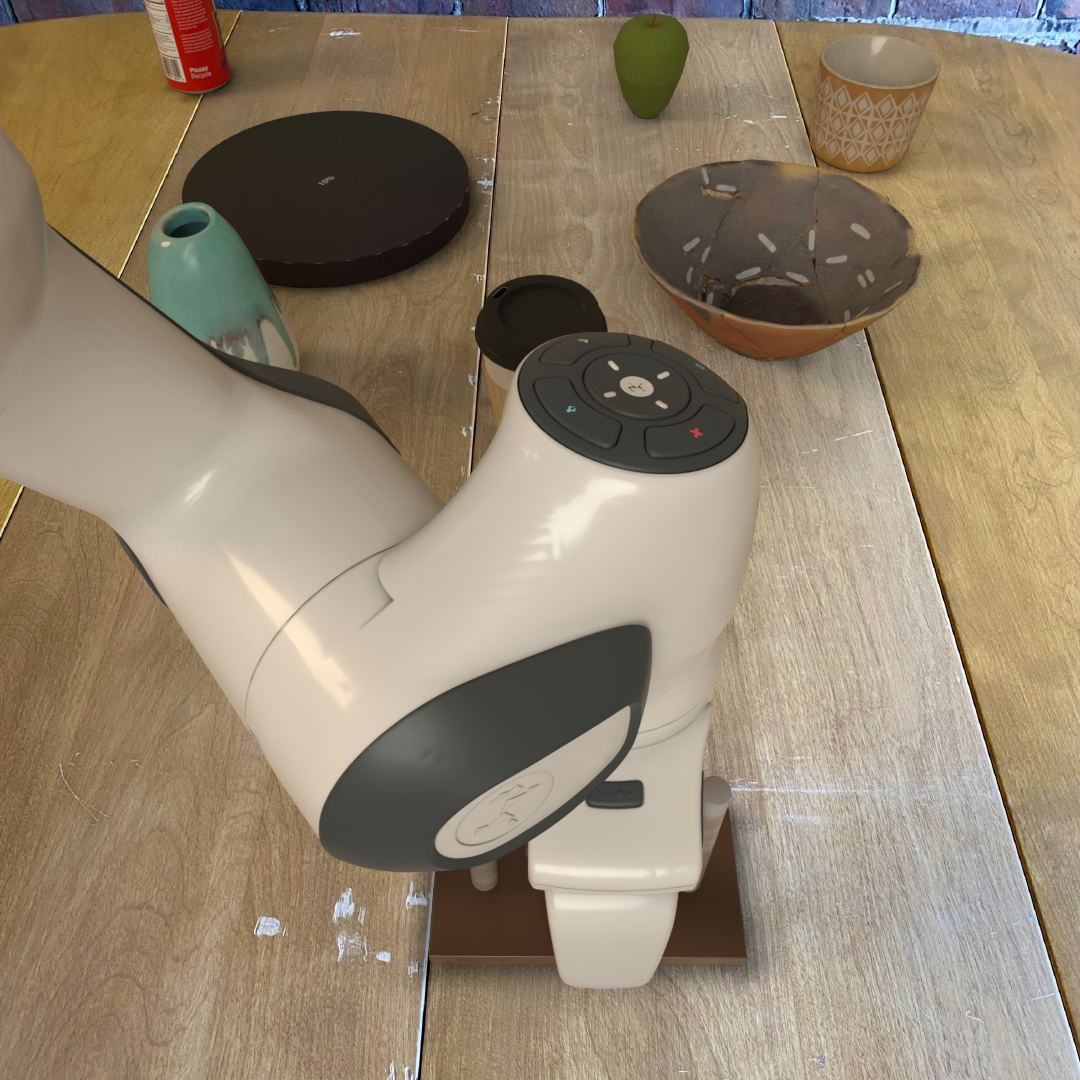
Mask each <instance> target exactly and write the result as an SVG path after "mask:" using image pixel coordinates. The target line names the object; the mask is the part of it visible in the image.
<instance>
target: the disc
mask: <svg viewBox="0 0 1080 1080" xmlns="http://www.w3.org/2000/svg"><path fill="white" fill-rule="evenodd" d="M470 187H471V186H470V172H469V168H468V164H467V160H466V158H465V157H464V155H463V154H462V153H461V151H460V150H459V147H458V146H456V144H454V143H453V142H452V141H451V140H449V139H448V138H447V137H446V136H445V135H444V134H441V133H440V132H438V131H436V130H435V129H433V128H431V127H430V126H428V125H425V124H422V123H420V122H417V121H414V120H412V119H408V118H405V117H401V116H397V115H392V114H387V113H383V112H382V113H381V112H373V111H365V110H324V111H312V112H304V113H299V114H293V115H288V116H282V117H279V118H276V119H275V118H274V119H272V120H268V121H265V122H261V123H258V124H256V125H253V126H250V127H248V128H245V129H243V130H241V131H239V132H236V133H234V134H232V135H230V136H229V137H226V138H225V139H224V140H222V141H220V142H218V143H216V144H215V145H214V146H212V148H210V149H209V150H208V151H206V152H205V153H204V154H203V155H201V156H200V157H199V159H198V160H197V161H196V162H195V164H194V165H193V166H192V167H191V168H190V169H189V171H188V173H187V175H186V177H185V179H184V182H183V184H182V189H181V199H180V201H181V204H185V203H192V202H199V203H204V204H207V205H209V206H211V207H212V208H213V209H214V210H215V211H217V212H218V213H219V214H220V215H221V216H223V217H224V218H225V219H226V220H227V221H228V222H229V223H230V224H231V225H232V226H233V228H234V229H235V230H236V231H237V233H238V234H239V236H240V237H241V239H242V240H243V242H244V243H245V245H246V247H247V248H248V250H249V252H250V254H251V256H252V258H253V259H254V261H255V263H256V265H257V267H258V269H259V270H260V272H261V274H262V275H263V277H264V279H265V280H266V282H267V283H268V284H275V285H282V286H290V287H311V288H312V287H314V288H315V287H317V288H318V287H319V288H320V287H322V288H324V287H325V288H326V287H334V286H344V285H353V284H357V283H363V282H368V281H371V280H377V279H381V278H385V277H387V276H389V275H393V274H395V273H398V272H401V271H403V270H407V269H409V268H411V267H413V266H415V265H417V264H419V263H421V262H423V261H425V260H427V259H429V258H431V257H432V256H433V255H434V254H436V253H437V252H438V251H439V250H441V249H443V248H444V247H445V246H446V245H448V244H449V243H450V242H451V240H452V239H454V238H455V236H456V235H457V234H458V233H459V231H461V229H462V228H463V225H464V223H465V222H466V219H467V218H468V215H469V210H470V203H471V188H470Z"/></svg>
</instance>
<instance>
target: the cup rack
mask: <svg viewBox="0 0 1080 1080" xmlns="http://www.w3.org/2000/svg"><path fill="white" fill-rule="evenodd" d="M731 798H732V788H731V785H730V784H729V782H728V781H727V780H726V779H724V778H722V777H721V776H716V775H711V776H707V777H705V778H704V783H703V847H702V871H701V875H700V879H699V881H698V884H697V886H696V887H695V888H694V889H693V890H688V891H680V892H678V900H677V908H676V914H675V919H674V924H673V927H672V931H671V934H670V937H669V940H668V942H667V945H666V948H665V950H664V953H663V955H662V958H661V960H660V962H659V965H658V967H744V965H745V963H746V962H747V960H748V952H747V944H746V935H745V927H744V920H743V912H742V903H741V897H740V896H741V894H740V887H739V881H738V880H739V878H738V870H737V863H736V855H735V847H734V838H733V830H732V822H731V821H732V820H731V814H730V813H731V812H730V809H729V808H728V806H729V804H730V801H731ZM433 881H434V882H433V893H432V894H433V895H432V906H431V907H432V909H431V919H430V920H431V922H430V933H429V934H430V935H429V947H428V949H429V950H428V957H429V962H430V964H431V965H461V966H462V965H466V966H467V965H469V966H470V965H471V966H472V965H473V966H477V965H478V966H479V965H481V966H482V965H484V966H485V965H487V966H489V965H490V966H557V964H556V959H555V954H554V949H553V944H552V938H551V933H550V927H549V921H548V914H547V907H546V899H545V891H544V890H539V889H534V888H533V887H532V886H531V884H530V882H529V879H528V857H527V856H526V844H524V845H523V846H521V847H519V848H518V849H516V850H514V851H512V852H511V853H509V854H507V855H505V856H503V857H501V858H499V859H497V860H494V861H492V862H489V863H486V864H483V865H480V866H477V867H472V868H467V869H458V870H446V871H434V879H433Z"/></svg>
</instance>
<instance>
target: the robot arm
mask: <svg viewBox="0 0 1080 1080" xmlns="http://www.w3.org/2000/svg"><path fill="white" fill-rule="evenodd" d="M45 214H46V213H45V208H44V203H43V200H42V195H41V189H40V187H39V183H38V181H37V177H36V175H35V172H34V169H33V167H32V165H31V163H30V161H29V160H28V159H27V157H26V155H25V154H24V153H23V152H22V150H21V149H20V147H19V146H18V145H17V144H16V142H15V141H14V139H13V138H12V136H10V135H9V133H8V132H7V130H6V129H5V127H4V126H3V125H2V124H1V123H0V478H3V479H5V480H7V481H10V482H13V483H15V484H17V485H20V486H23V487H25V488H27V489H30V490H31V491H34V492H37V493H40V494H42V495H45V496H47V497H50V498H52V499H54V500H56V501H59V502H62V503H64V504H66V505H69V506H71V507H73V508H77V509H79V510H81V511H84V512H86V513H88V514H91V515H93V516H95V517H96V518H98V519H100V520H101V521H103V522H104V523H105V524H107V525H108V526H109V527H110V528H111V529H112V531H113V533H114V535H115V537H116V539H117V541H118V542H119V544H120V545H121V547H122V550H123V551H124V552H125V555H127V557H128V559H129V560H130V561H131V562H132V564H133V565H134V567H135V568H136V570H137V571H138V572H139V574H140V575H141V577H142V578H143V579H144V581H145V582H146V583H147V585H148V586H149V588H150V589H151V590H152V592H153V593H154V594H155V595H156V597H157V598H158V599H159V601H160V602H161V603H162V604H163V605H164V606H165V607H166V608H167V609H168V610H169V611H170V612H171V614H172V616H173V617H174V618H175V620H176V622H177V623H178V625H179V626H180V628H181V629H182V631H183V632H184V633H185V635H186V637H187V638H188V640H189V642H190V643H191V644H192V646H193V648H194V650H195V651H196V652H197V654H198V655H199V657H200V658H201V660H202V661H203V664H205V666H206V668H207V669H208V671H209V672H210V674H211V676H212V677H213V679H214V680H215V681H216V683H217V685H218V686H219V688H220V689H221V691H222V693H223V694H224V695H225V697H226V699H227V701H229V703H230V705H231V706H232V708H233V710H234V711H235V712H236V713H237V715H238V717H239V718H240V720H241V722H242V723H243V725H244V726H245V729H247V731H248V732H249V734H250V737H251V739H252V740H253V742H254V744H256V745H255V746H257V749H259V751H260V753H261V754H262V756H263V757H264V759H265V761H266V762H267V764H268V766H269V767H270V769H271V770H272V772H273V773H274V775H275V776H276V778H277V779H278V782H280V784H281V786H282V787H283V788H284V790H285V791H286V793H287V794H288V796H289V797H290V799H291V800H292V801H293V803H294V804H295V806H296V808H297V809H298V811H300V813H301V815H302V816H303V818H304V819H305V821H306V822H307V824H308V825H309V826H310V829H312V830H313V832H314V833H315V835H316V836H317V838H318V839H319V841H320V844H321V846H322V847H323V849H324V851H325V852H326V853H328V855H330V856H331V857H333V858H334V859H336V860H339V861H341V862H343V863H347V864H349V865H353V866H356V867H360V868H363V869H368V870H373V871H374V870H375V871H380V872H381V871H382V872H389V873H435V871H446V870H458V869H467V868H472V867H477V866H480V865H483V864H486V863H489V862H492V861H494V860H497V859H499V858H501V857H503V856H505V855H507V854H509V853H511V852H512V851H514V850H516V849H518V848H519V847H521V846H523V845H524V844H526V856H527V857H528V879H529V882H530V884H531V886H532V887H533V888H534V889H539V890H544V891H545V899H546V907H547V914H548V921H549V927H550V933H551V938H552V944H553V949H554V954H555V959H556V964H557V965H556V968H557V972H558V975H559V978H560V979H561V981H562V982H563V983H564V984H566V985H567V986H570V987H575V988H580V989H596V990H597V989H599V990H602V989H603V990H611V989H612V990H617V989H619V990H620V989H632V988H639V987H643V986H644V985H646V984H648V983H649V982H650V981H651V980H652V978H653V976H654V975H655V972H656V970H657V969H658V967H659V966H658V965H659V962H660V960H661V958H662V955H663V953H664V950H665V948H666V945H667V942H668V940H669V937H670V934H671V931H672V927H673V924H674V919H675V914H676V908H677V900H678V892H680V891H688V890H693V889H694V888H695V887H696V886H697V884H698V881H699V879H700V875H701V871H702V847H703V783H704V779H705V778H704V777H705V775H704V774H705V773H704V771H705V770H704V769H703V767H704V760H705V759H704V758H705V751H706V746H707V745H706V744H707V741H708V736H709V733H710V729H711V725H712V722H713V717H714V714H715V713H714V710H715V709H714V705H713V698H714V695H715V691H716V688H717V684H718V679H719V676H720V673H721V669H722V666H723V660H724V657H725V656H724V654H725V647H726V646H725V645H726V630H725V628H726V627H727V625H728V623H730V622H729V621H730V620H731V618H732V617H733V615H734V613H735V611H736V609H737V606H738V603H739V600H740V597H741V594H742V590H743V586H744V583H745V578H746V574H747V571H748V567H749V562H750V556H751V553H752V549H753V544H754V539H755V531H756V527H757V519H758V512H759V504H760V497H761V482H762V481H761V480H762V479H761V475H762V474H761V469H762V468H761V467H762V463H761V462H762V461H761V446H760V441H759V437H758V431H757V427H756V424H755V421H754V419H753V416H752V413H751V410H750V408H749V406H748V405H747V402H746V401H745V399H744V398H743V396H742V395H740V393H739V392H737V390H735V389H734V388H733V387H732V386H731V385H730V384H729V383H728V382H727V381H726V380H725V379H724V378H723V377H721V376H720V375H719V374H717V373H716V372H714V371H713V370H712V369H711V368H710V367H708V366H707V365H705V364H704V363H702V362H701V361H699V360H698V359H696V358H695V357H693V356H691V355H690V354H688V353H687V352H685V351H683V350H681V349H679V348H677V347H676V346H673V345H671V344H669V343H667V342H665V341H662V340H659V339H653V338H649V337H646V336H642V335H637V334H632V333H625V332H617V331H616V332H615V331H608V332H583V333H576V334H570V335H566V336H562V337H559V338H555V339H553V340H550V341H548V342H546V343H544V344H542V345H540V346H538V347H537V348H535V349H534V350H533V351H531V352H530V353H529V354H528V355H527V356H526V357H525V358H524V359H523V360H522V362H521V363H520V364H519V366H518V367H517V369H516V371H515V373H514V375H513V378H512V380H511V383H510V385H509V388H508V390H507V394H506V398H505V402H504V406H503V411H502V416H501V420H500V423H499V426H498V429H496V432H495V434H494V435H493V437H492V440H491V441H490V443H489V444H488V447H487V449H486V451H485V452H484V453H483V455H482V456H481V458H480V460H479V461H478V463H477V464H476V466H475V467H474V469H473V470H472V471H471V473H470V474H469V476H468V477H467V478H466V480H465V481H464V482H463V484H462V485H461V486H460V488H459V489H458V490H457V491H456V492H455V494H454V495H453V496H452V497H451V498H450V499H449V500H448V502H447V503H446V502H445V501H444V500H443V499H442V498H441V497H440V496H439V494H437V492H436V491H434V489H433V488H431V486H430V485H429V484H428V483H427V482H426V481H425V480H424V479H423V478H422V477H421V476H420V475H419V473H418V472H417V471H415V470H414V468H413V467H412V466H411V465H410V464H409V463H408V462H407V461H406V460H405V459H404V458H403V456H402V454H401V452H400V451H399V450H398V448H397V447H396V445H394V443H393V442H392V440H391V439H390V438H389V436H388V435H387V434H386V433H385V432H384V430H383V429H382V427H380V425H379V424H378V423H377V422H376V420H375V419H374V418H373V417H372V415H371V414H370V412H368V410H367V409H366V408H365V406H364V405H363V404H362V403H361V402H360V400H358V398H356V397H355V396H353V395H352V394H351V393H350V392H348V391H347V390H346V389H344V388H343V387H341V386H339V385H337V384H335V383H334V382H331V381H329V380H326V379H324V378H321V377H318V376H316V375H312V374H309V373H306V372H301V371H299V372H298V371H294V370H290V369H285V368H280V367H276V366H271V365H266V364H262V363H258V362H253V361H250V360H246V359H242V358H239V357H236V356H233V355H230V354H227V353H225V352H223V351H220V350H218V349H216V348H214V347H212V346H210V345H208V344H206V343H204V342H203V341H201V340H199V339H198V338H196V337H195V336H193V335H192V334H191V333H189V332H188V331H187V330H186V329H184V328H183V327H182V326H180V325H179V324H178V323H176V322H175V321H174V320H173V319H171V318H170V317H169V316H167V315H166V314H165V313H163V312H162V311H161V310H159V309H158V308H157V307H156V306H154V305H153V304H152V303H150V300H148V299H147V298H145V297H144V296H143V295H141V294H140V293H139V292H138V291H136V290H135V289H133V288H132V287H131V286H130V285H128V284H127V283H125V282H124V281H123V280H122V279H120V278H119V277H118V276H117V275H115V274H114V273H112V272H111V271H110V270H109V269H107V268H106V267H105V266H104V265H102V264H101V263H100V262H98V261H97V260H96V259H95V258H93V257H92V256H91V255H89V254H88V253H86V251H84V250H83V249H81V248H80V247H78V246H77V245H76V244H75V243H74V242H72V241H71V240H69V238H68V237H66V236H65V235H64V234H62V233H61V232H60V231H58V230H57V229H56V228H55V227H53V226H52V225H51V224H50V223H48V222H47V221H46V220H47V219H46V215H45Z"/></svg>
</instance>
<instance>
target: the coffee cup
mask: <svg viewBox="0 0 1080 1080" xmlns="http://www.w3.org/2000/svg"><path fill="white" fill-rule="evenodd" d="M583 332H609V328H608V324H607V319H606V316H605V314H604V312H603V311H602V309H601V307H600V304H599V302H598V300H597V298H596V296H595V295H594V294H593V293H592V292H591V290H590V289H588V288H587V287H585V286H584V285H583V284H581V283H579V282H577V281H575V280H573V279H570V278H567V277H563V276H560V275H559V276H558V275H553V274H529V275H523V276H518V277H516V278H512V279H509V280H507V281H505V282H503V283H501V284H499V285H498V286H497V287H495V288H494V289H493V290H492V291H491V292H490V293H489V294H488V295H487V297H486V298H485V300H484V302H483V306H482V307H481V309H480V310H479V313H478V315H477V317H476V320H475V325H474V340H475V343H476V345H477V347H478V349H479V350H480V351H481V353H482V354H483V369H484V374H485V379H486V385H487V389H488V393H489V399H490V404H491V409H492V414H493V418H494V424H495V429H496V430H497V429H498V426H499V423H500V420H501V416H502V411H503V406H504V402H505V398H506V394H507V390H508V388H509V385H510V383H511V380H512V378H513V375H514V373H515V371H516V369H517V367H518V366H519V364H520V363H521V362H522V360H523V359H524V358H525V357H526V356H527V355H528V354H529V353H530V352H531V351H533V350H534V349H535V348H537V347H538V346H540V345H542V344H544V343H546V342H548V341H550V340H553V339H555V338H559V337H562V336H566V335H570V334H576V333H583Z"/></svg>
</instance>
